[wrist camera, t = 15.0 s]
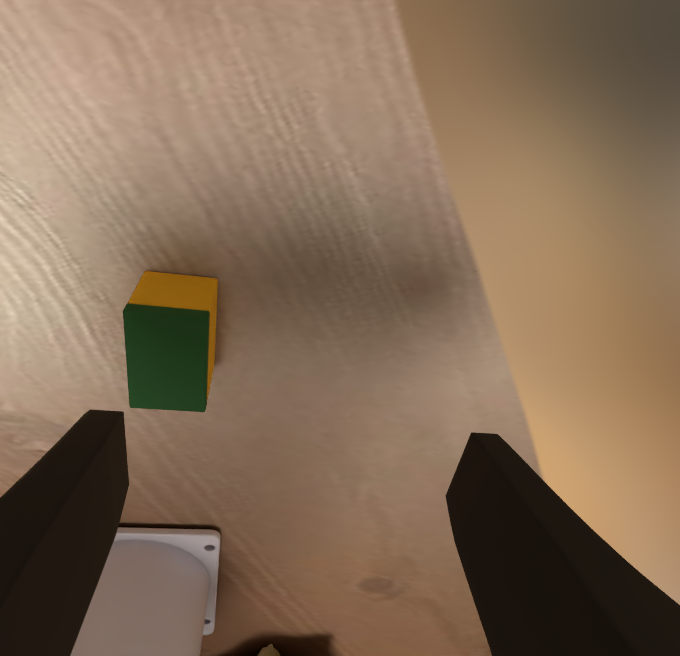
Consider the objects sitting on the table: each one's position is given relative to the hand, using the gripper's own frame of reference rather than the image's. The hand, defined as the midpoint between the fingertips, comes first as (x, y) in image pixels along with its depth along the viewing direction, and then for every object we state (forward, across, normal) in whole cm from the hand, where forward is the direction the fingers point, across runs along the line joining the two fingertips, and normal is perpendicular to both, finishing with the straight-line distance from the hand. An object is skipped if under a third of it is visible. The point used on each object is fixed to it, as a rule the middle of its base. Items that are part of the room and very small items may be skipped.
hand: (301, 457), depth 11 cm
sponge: (+9, +4, +3) cm, 11 cm away
